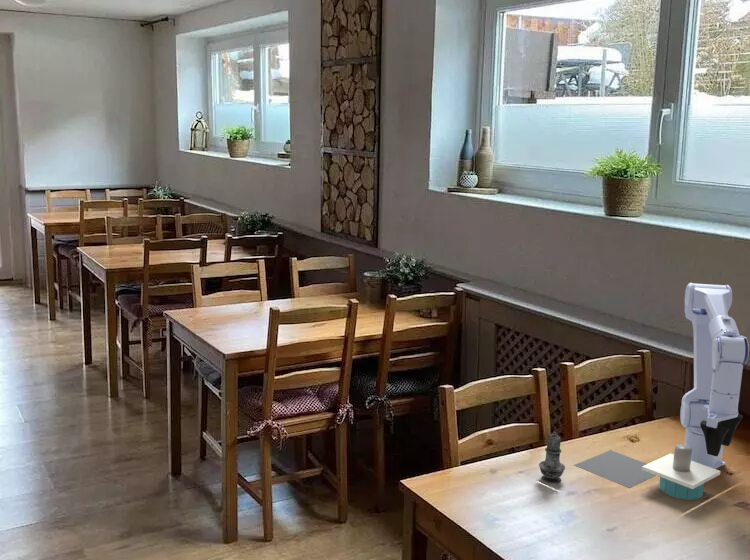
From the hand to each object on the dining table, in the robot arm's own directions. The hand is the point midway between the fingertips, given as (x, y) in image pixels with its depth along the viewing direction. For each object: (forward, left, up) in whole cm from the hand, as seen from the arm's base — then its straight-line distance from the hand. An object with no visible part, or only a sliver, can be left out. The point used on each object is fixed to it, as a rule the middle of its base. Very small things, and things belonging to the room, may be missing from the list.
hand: (718, 449), depth 175 cm
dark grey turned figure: (+24, -26, -11) cm, 37 cm away
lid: (+5, -5, -6) cm, 9 cm away
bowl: (+5, -5, -10) cm, 13 cm away
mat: (+6, -20, -10) cm, 23 cm away
